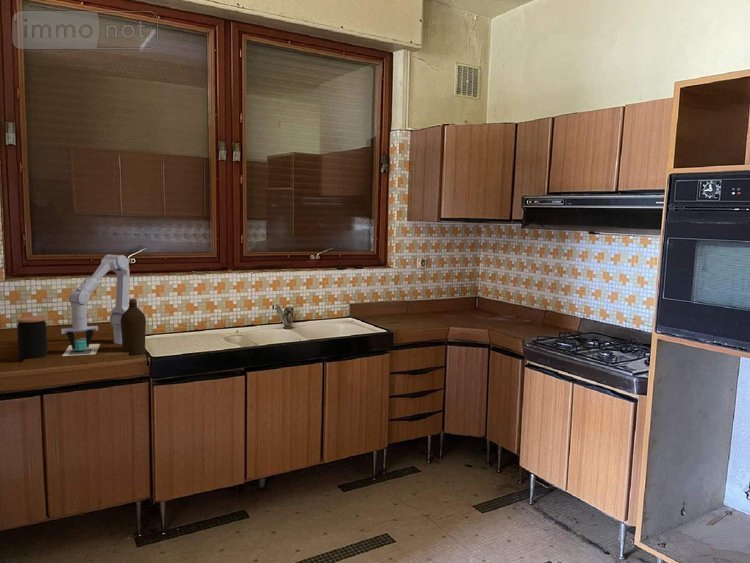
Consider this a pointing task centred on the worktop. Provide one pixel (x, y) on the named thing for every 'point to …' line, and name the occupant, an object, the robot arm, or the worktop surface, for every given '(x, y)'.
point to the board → (93, 351)
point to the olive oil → (133, 329)
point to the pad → (80, 352)
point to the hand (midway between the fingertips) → (80, 348)
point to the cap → (80, 344)
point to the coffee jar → (32, 337)
